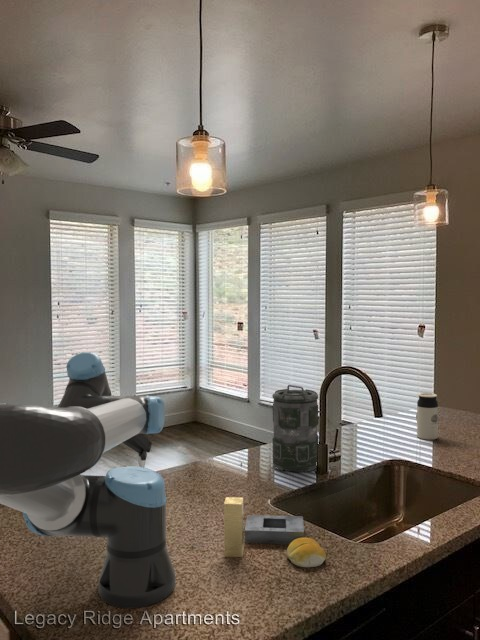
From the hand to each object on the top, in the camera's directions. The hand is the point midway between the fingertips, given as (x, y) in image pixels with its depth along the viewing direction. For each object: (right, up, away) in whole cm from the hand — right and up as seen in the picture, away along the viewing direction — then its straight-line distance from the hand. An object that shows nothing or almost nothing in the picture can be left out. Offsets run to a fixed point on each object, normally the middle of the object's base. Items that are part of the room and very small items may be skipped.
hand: (117, 465), depth 136 cm
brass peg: (+30, -16, -15) cm, 37 cm away
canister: (+51, -13, +47) cm, 71 cm away
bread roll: (+46, -16, -18) cm, 52 cm away
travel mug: (+109, -12, +83) cm, 138 cm away
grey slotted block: (+40, -15, -6) cm, 43 cm away
